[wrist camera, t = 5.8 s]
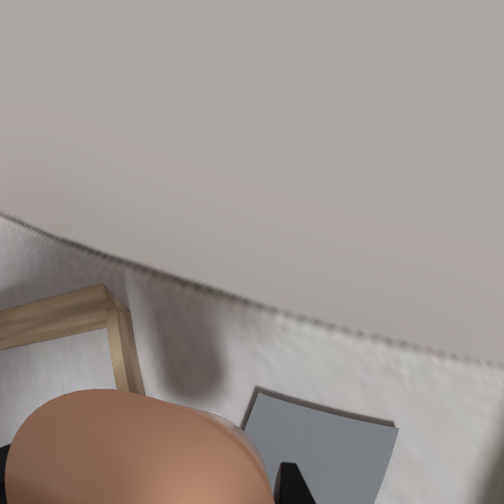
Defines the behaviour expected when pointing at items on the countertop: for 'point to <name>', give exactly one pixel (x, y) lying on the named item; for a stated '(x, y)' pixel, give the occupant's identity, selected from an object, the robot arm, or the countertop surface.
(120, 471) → the peach domed cylinder
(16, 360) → the countertop surface
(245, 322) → the countertop surface
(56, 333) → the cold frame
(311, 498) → the robot arm
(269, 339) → the countertop surface
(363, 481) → the slate tile
